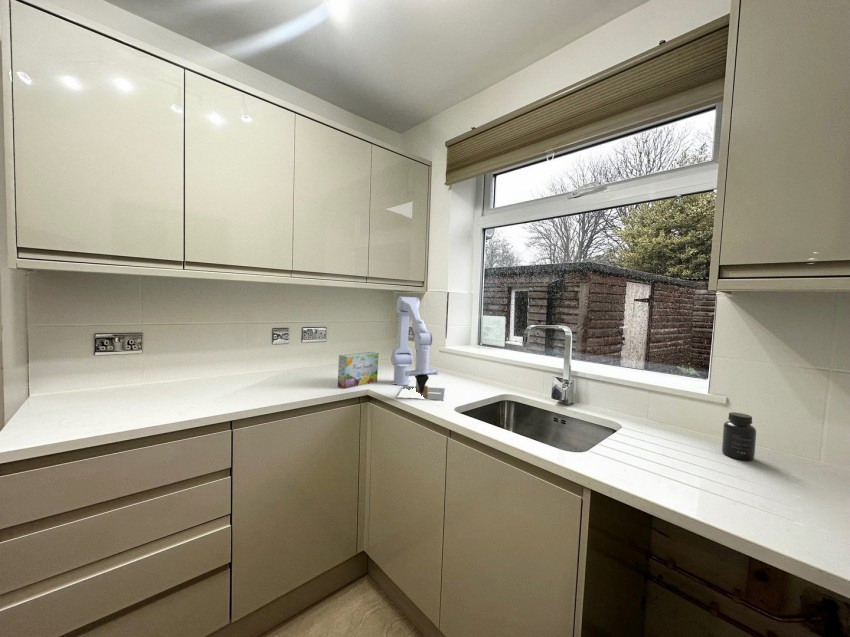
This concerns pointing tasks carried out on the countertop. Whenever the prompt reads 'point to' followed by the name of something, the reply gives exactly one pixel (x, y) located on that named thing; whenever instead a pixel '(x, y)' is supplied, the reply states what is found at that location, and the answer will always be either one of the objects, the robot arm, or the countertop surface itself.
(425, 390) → the hinged fence section
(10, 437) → the countertop surface
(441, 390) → the board
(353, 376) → the snack box
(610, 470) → the countertop surface
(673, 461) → the countertop surface
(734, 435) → the supplement bottle
